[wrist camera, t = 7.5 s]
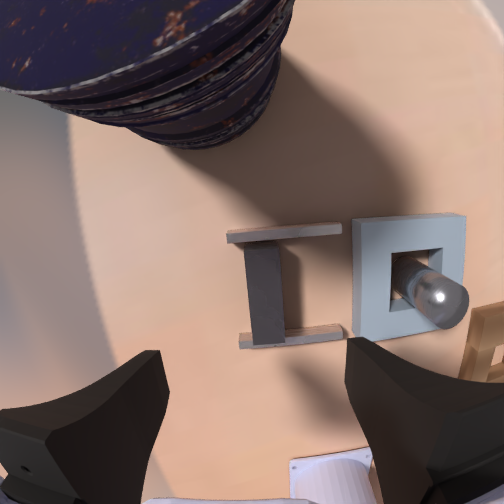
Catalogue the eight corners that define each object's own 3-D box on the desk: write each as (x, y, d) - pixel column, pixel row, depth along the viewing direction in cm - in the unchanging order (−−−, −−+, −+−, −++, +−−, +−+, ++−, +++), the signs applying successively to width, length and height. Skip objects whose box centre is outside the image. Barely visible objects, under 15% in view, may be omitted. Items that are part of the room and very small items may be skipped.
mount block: (507, 381, 24) (517, 390, 22) (451, 402, 24) (460, 414, 22) (529, 294, 22) (542, 301, 20) (472, 308, 22) (485, 317, 20)
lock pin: (421, 284, 21) (470, 318, 15) (391, 296, 22) (434, 336, 15) (416, 251, 21) (467, 277, 14) (384, 263, 21) (429, 294, 15)
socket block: (444, 314, 22) (457, 324, 20) (351, 330, 22) (359, 343, 20) (450, 212, 20) (466, 216, 18) (351, 218, 20) (360, 222, 18)
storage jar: (100, 102, 19) (-68, 37, 4) (189, -4, 17) (127, -156, 2) (211, 182, 20) (108, 192, 5) (306, 67, 18) (386, -92, 4)
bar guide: (338, 331, 22) (342, 338, 21) (240, 340, 22) (239, 349, 21) (336, 221, 20) (341, 223, 19) (227, 230, 21) (226, 233, 19)
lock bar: (282, 326, 22) (285, 342, 20) (253, 328, 22) (253, 345, 20) (276, 240, 21) (279, 248, 18) (244, 243, 21) (243, 251, 18)
